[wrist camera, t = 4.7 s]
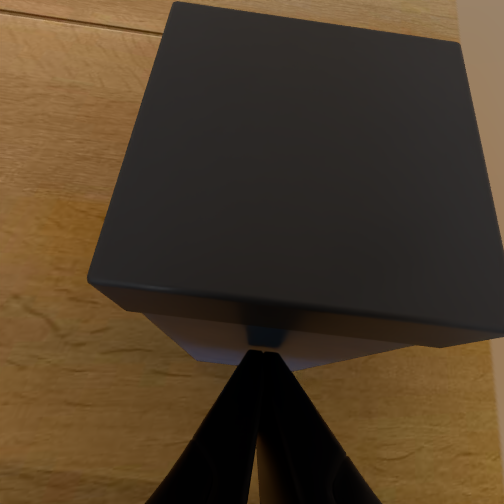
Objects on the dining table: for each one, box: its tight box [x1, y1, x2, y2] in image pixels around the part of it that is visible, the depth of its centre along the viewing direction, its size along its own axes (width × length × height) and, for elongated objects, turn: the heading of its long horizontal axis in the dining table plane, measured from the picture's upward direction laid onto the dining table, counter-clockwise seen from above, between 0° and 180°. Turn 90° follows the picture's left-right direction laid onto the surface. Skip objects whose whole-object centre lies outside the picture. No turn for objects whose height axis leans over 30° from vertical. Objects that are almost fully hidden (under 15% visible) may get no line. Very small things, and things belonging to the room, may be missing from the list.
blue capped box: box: [87, 1, 504, 372], centre depth 11 cm, size 5×5×14 cm
